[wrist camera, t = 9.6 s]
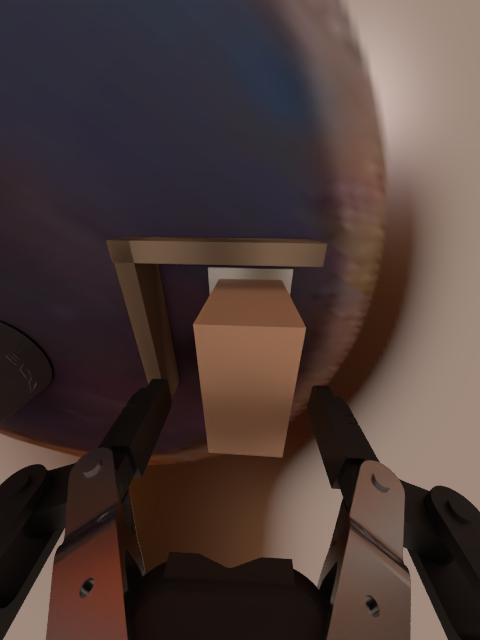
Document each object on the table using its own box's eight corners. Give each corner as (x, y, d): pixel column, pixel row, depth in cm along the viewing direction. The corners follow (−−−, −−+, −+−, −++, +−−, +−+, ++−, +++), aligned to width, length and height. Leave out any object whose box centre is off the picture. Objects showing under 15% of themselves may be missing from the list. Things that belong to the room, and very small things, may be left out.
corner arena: (167, 381, 19) (153, 406, 17) (135, 236, 13) (105, 240, 11) (287, 386, 19) (293, 414, 16) (311, 238, 13) (327, 243, 10)
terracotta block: (219, 278, 14) (193, 324, 8) (281, 279, 14) (306, 328, 8) (223, 373, 18) (208, 452, 12) (271, 375, 18) (282, 457, 12)
